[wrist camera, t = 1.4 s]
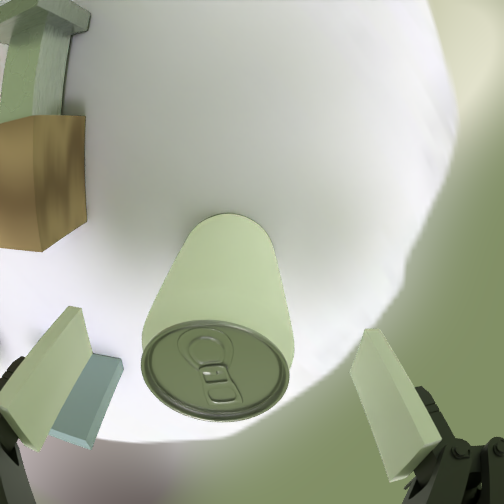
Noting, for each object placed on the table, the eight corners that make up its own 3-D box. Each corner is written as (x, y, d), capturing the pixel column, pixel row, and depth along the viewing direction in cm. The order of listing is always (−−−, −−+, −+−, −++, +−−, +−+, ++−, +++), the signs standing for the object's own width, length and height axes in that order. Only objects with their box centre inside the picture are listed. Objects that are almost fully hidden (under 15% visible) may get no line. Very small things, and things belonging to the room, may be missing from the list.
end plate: (42, 341, 25) (-3, 403, 15) (120, 358, 25) (85, 440, 16) (45, 351, 25) (4, 414, 16) (123, 369, 26) (91, 449, 16)
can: (266, 204, 20) (292, 295, 9) (280, 287, 22) (306, 417, 11) (174, 221, 20) (102, 321, 9) (197, 300, 23) (165, 429, 12)
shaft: (30, 32, 13) (-20, 18, 7) (90, 13, 13) (43, -16, 7) (23, 231, 20) (-25, 262, 14) (79, 234, 20) (31, 271, 14)
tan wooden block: (14, 128, 17) (-37, 135, 11) (85, 116, 17) (33, 115, 11) (19, 219, 20) (-27, 244, 14) (87, 221, 20) (41, 252, 14)
